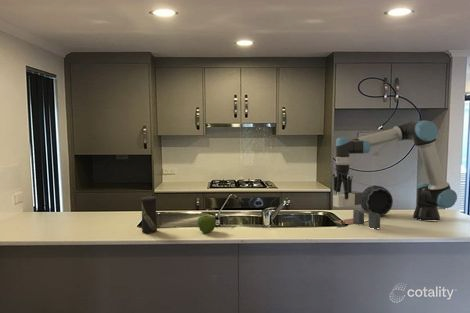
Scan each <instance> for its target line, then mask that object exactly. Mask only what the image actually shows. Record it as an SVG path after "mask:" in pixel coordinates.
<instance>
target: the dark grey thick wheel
mask: <svg viewBox="0 0 470 313" xmlns="http://www.w3.org/2000/svg"><path fill="white" fill-rule="evenodd" d="M393 203H394V199H393V196H392V193H391V192H390V190H388V189H387V188H385V187H383V186H381V185H376V184H375V185H371V186H368V187H366V188H365V189H364V190H363V191H362V204H360V206H361V209H362V210H366V211H370V212H374V213H378V214H380V217H382V216H385V215H387V214H388V213H389V212H390V211H391V209H392V207H393V205H394V204H393Z"/></svg>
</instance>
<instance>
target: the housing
mask: <svg viewBox="0 0 470 313" xmlns="http://www.w3.org/2000/svg"><path fill="white" fill-rule="evenodd" d="M352 213H353V217H352V218H353V223H355V225H357V224H363V225H365V222H364V220H365V215H368V227H370V228H374V229H377V228H380V229H381V216H380V214H378V213H374V212H370V211H366V210H364V209H363V208H353V212H352ZM370 228H369V229H370Z"/></svg>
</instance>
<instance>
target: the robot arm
mask: <svg viewBox="0 0 470 313" xmlns="http://www.w3.org/2000/svg"><path fill="white" fill-rule="evenodd" d="M438 130H439V129H438V127H437V125H436V124H435V123H434V122H433V121H430V120H414V121H413V120H411V121H408V122H405V123H402V124H398V125H394V126H393V128H390V129H387V130H386V129H385V130H382V131H378V132H374V133H371V134H367V135H364V136H359V137H356V138H352V139H350V137H337V138H336V140H335V171H336V173H332V177H333V183H332V184H333V186H332V187H333V191H335V195H338V194H343V205H347V204H348V194H349V193H351V192H352V191H353V190H352V188H353V186H352V184H353V182H352V181H353V178H354V176H353V175H350V173H349V172H350V154H353V155H355V154H362V155H364V154H368V153H370V151H371V147H375V146H378V145H383V144H388V143H390V142H394V141H397V142H401V141H413V144H414V147H417V148H418V150H419V154H420V157H421V160H422V164H423V167H424V170H425V173H426V177H427V180H428V182H420V183H418V184H417V187H416V207H415V210H414V212H413V219H415V218H417V219H416V220H418V219H421V220H420V221H423V220H439V221H441V215H440V212H439V209H438V208H441V209H449V208H452V207H454V205H455V204H456V202H457V199H458V194H457V192H456V191H455V190H453V189H452V188H451V186H450V183H449V182H448V181H446V178H445V175H444V171H443V169H442V165H441V161H440V158H439V155H438V152H437V151H438V150H437V147H436V145H435V143H436V142H437V136H438V133H439V132H438ZM342 186H343V191H344V192H343V193H342V192H341V188H342Z"/></svg>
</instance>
